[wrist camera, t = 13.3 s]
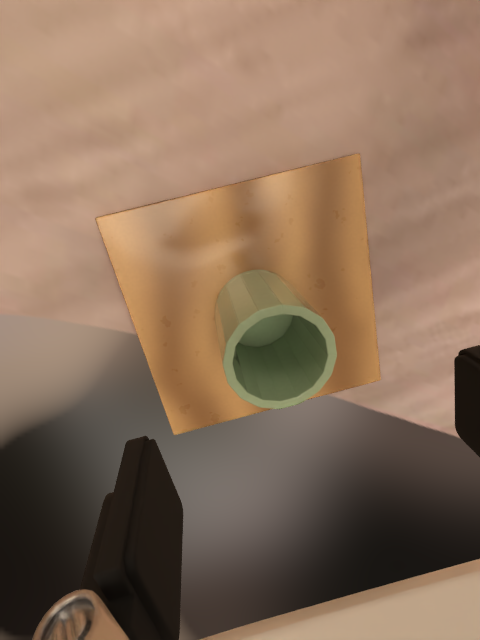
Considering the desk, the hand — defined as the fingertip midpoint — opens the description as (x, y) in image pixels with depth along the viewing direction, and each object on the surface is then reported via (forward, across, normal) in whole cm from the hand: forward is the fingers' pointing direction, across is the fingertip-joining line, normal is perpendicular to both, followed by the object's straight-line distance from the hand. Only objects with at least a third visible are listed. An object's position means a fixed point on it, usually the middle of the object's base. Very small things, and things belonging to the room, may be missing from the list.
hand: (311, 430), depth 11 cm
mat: (+20, -1, +4) cm, 21 cm away
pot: (+20, -1, +4) cm, 20 cm away
